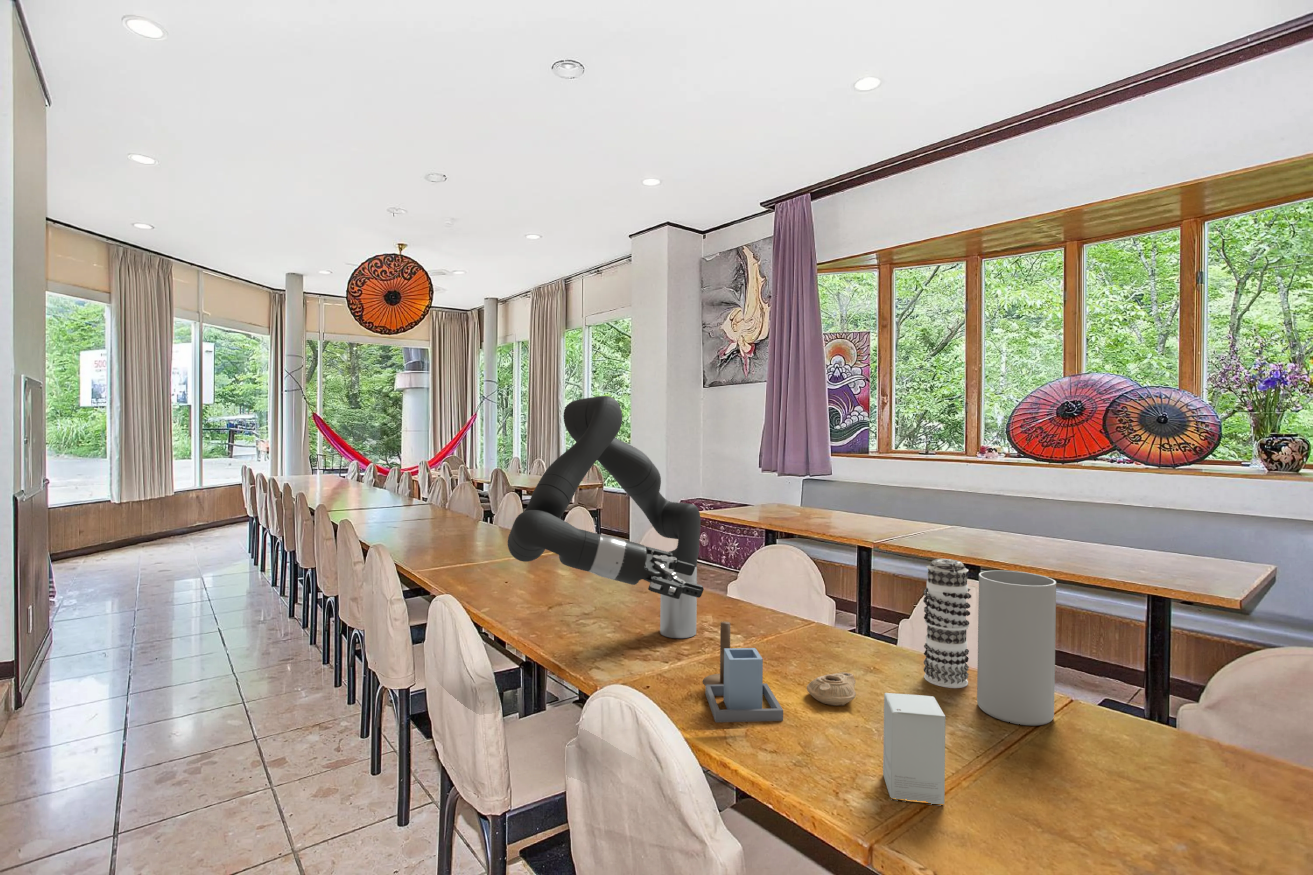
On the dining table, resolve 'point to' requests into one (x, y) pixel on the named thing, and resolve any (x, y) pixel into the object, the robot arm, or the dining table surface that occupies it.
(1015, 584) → the cylinder vase
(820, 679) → the pottery oil lamp
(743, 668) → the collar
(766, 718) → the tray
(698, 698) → the dining table surface
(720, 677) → the box
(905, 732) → the supplement box
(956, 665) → the decorative candle
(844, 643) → the dining table surface
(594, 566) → the robot arm
